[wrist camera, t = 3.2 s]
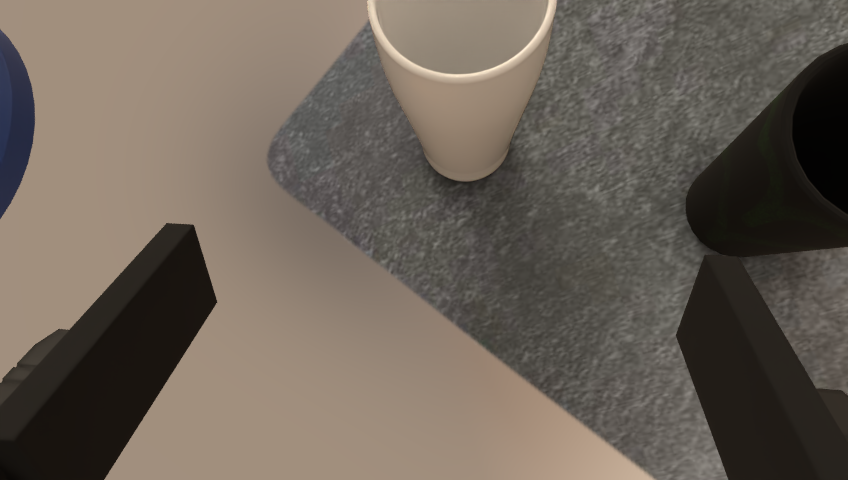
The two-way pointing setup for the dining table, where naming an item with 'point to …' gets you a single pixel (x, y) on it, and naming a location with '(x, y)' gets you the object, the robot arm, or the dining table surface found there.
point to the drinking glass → (463, 73)
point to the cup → (782, 172)
